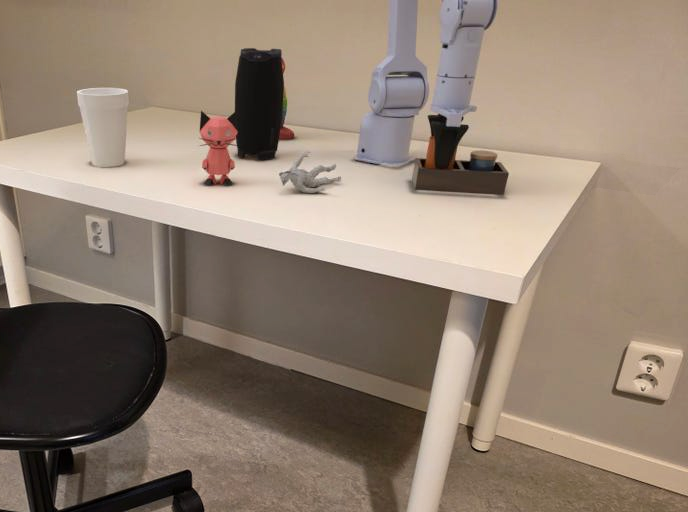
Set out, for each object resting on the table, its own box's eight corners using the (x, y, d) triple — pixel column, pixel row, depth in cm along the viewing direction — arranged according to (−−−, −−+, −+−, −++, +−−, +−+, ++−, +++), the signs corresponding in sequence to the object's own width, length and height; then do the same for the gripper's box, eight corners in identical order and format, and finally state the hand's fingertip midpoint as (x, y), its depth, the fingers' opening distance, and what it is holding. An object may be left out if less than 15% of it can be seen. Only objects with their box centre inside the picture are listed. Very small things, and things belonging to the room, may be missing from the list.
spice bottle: (417, 179, 109) (426, 127, 104) (429, 174, 112) (439, 123, 107) (443, 184, 106) (453, 131, 102) (455, 179, 109) (465, 127, 105)
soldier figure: (348, 193, 110) (308, 184, 102) (326, 208, 113) (286, 200, 105) (332, 155, 112) (292, 142, 103) (311, 170, 115) (270, 159, 106)
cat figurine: (197, 187, 110) (197, 114, 103) (198, 177, 115) (197, 106, 109) (239, 187, 110) (240, 114, 103) (237, 177, 115) (239, 107, 109)
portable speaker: (228, 152, 132) (230, 48, 122) (271, 150, 134) (277, 47, 124) (240, 162, 125) (243, 51, 115) (286, 159, 127) (292, 50, 117)
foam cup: (141, 160, 126) (137, 89, 119) (116, 171, 119) (110, 96, 112) (100, 155, 130) (94, 86, 123) (74, 165, 122) (66, 93, 116)
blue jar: (459, 187, 108) (466, 153, 105) (469, 182, 111) (476, 149, 108) (484, 192, 106) (492, 157, 103) (493, 186, 108) (501, 153, 105)
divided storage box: (411, 181, 113) (415, 157, 111) (495, 186, 111) (500, 162, 109) (414, 193, 107) (418, 168, 105) (503, 198, 105) (509, 173, 103)
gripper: (490, 82, 94) (470, 175, 101) (475, 71, 106) (459, 154, 113) (440, 81, 95) (424, 173, 102) (431, 69, 107) (417, 152, 114)
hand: (439, 163), depth 107 cm, fingers closed on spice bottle, 5 cm apart
